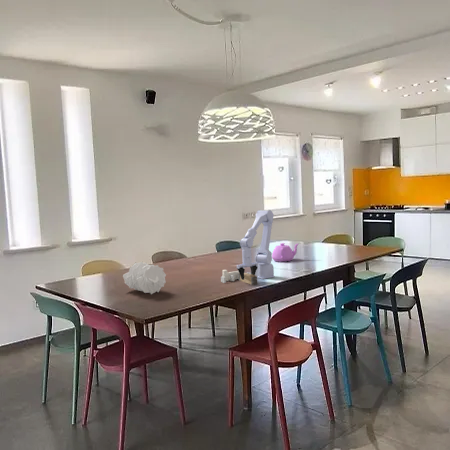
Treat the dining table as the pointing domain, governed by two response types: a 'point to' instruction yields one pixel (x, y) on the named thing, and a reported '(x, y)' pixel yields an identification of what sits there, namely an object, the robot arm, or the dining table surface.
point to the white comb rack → (230, 275)
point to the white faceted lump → (145, 277)
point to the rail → (248, 279)
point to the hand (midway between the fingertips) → (247, 278)
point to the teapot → (284, 253)
